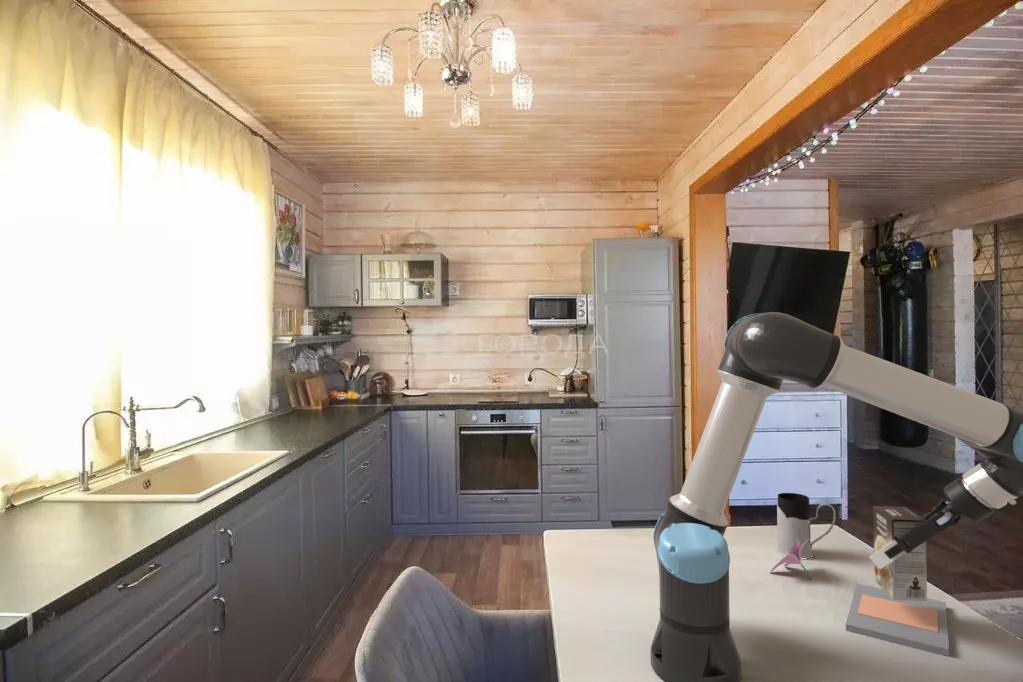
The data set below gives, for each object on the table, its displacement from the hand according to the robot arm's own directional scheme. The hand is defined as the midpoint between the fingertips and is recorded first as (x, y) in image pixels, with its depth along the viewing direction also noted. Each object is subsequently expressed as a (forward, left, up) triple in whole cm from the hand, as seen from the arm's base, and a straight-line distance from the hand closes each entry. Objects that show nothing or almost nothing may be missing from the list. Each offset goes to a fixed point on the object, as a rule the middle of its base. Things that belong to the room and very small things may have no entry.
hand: (882, 554), depth 117 cm
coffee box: (-1, -3, -7) cm, 7 cm away
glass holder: (+26, +18, -13) cm, 35 cm away
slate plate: (-1, -3, -12) cm, 13 cm away
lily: (+11, +19, -13) cm, 25 cm away
